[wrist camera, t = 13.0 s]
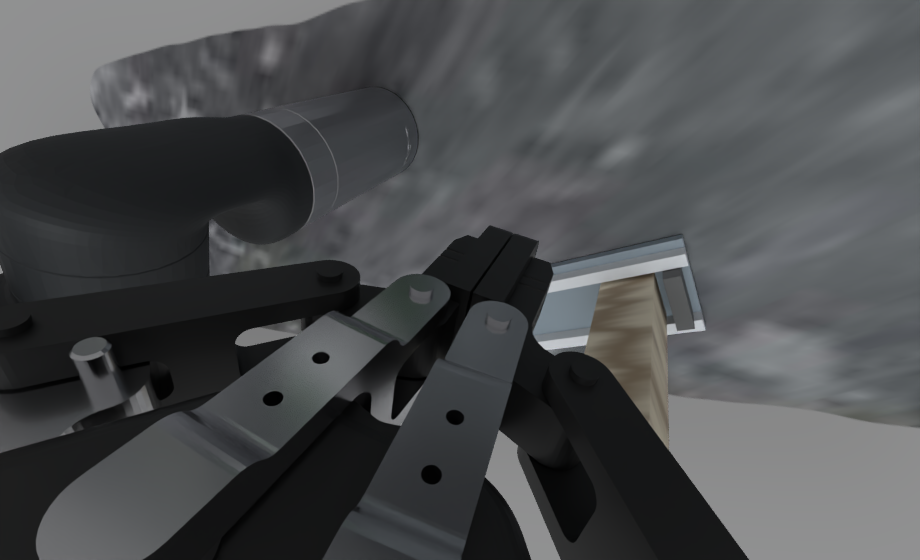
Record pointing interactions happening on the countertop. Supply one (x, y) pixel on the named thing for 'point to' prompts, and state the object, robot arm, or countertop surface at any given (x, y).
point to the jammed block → (634, 344)
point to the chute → (582, 277)
